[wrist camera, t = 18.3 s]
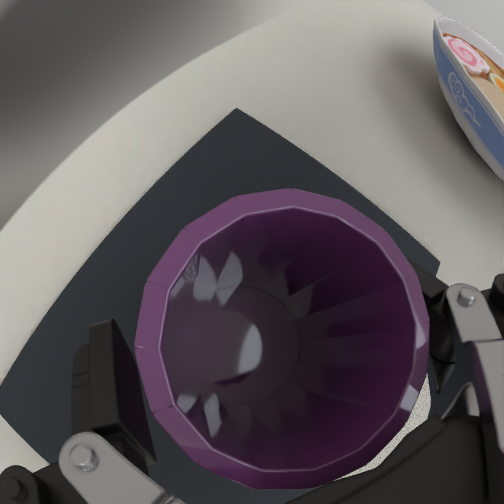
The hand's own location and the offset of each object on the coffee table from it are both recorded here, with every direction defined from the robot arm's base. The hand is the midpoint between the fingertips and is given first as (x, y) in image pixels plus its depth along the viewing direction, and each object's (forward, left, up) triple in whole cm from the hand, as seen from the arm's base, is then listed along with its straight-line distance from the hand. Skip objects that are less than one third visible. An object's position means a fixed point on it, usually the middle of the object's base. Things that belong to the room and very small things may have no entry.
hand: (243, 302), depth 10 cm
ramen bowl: (+29, +10, -5) cm, 31 cm away
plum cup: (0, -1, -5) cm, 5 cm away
